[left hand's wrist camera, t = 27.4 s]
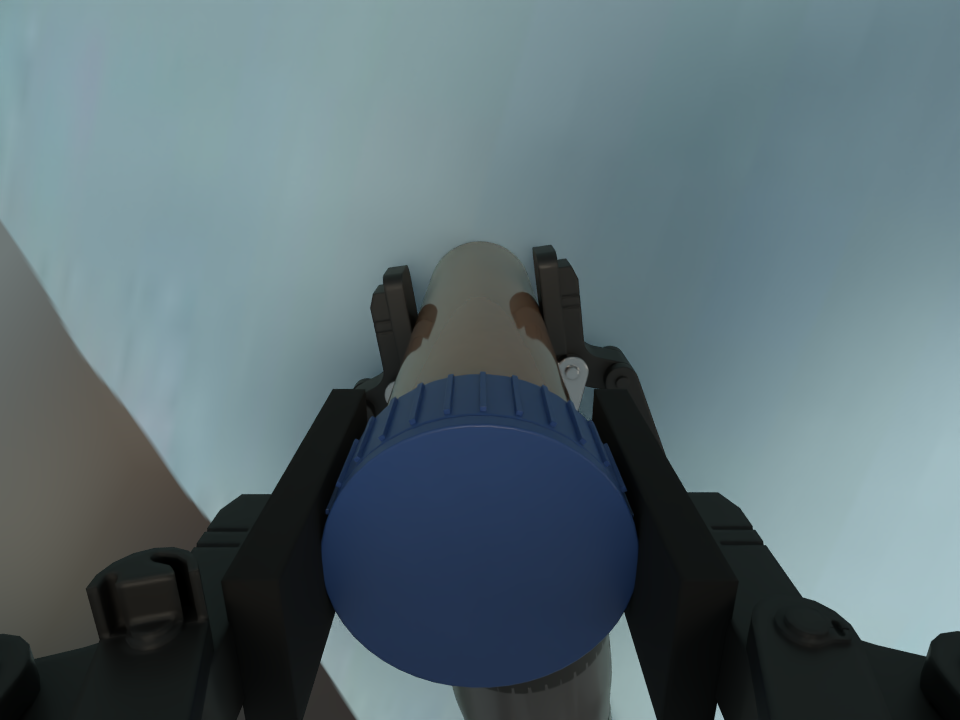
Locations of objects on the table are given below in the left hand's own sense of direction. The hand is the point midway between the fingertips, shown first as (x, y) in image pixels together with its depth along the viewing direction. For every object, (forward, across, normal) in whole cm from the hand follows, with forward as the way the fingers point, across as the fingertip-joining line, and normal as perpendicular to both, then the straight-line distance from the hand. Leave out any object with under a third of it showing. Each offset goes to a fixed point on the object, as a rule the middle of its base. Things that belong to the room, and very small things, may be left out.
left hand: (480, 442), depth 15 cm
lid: (-4, 0, 0) cm, 4 cm away
